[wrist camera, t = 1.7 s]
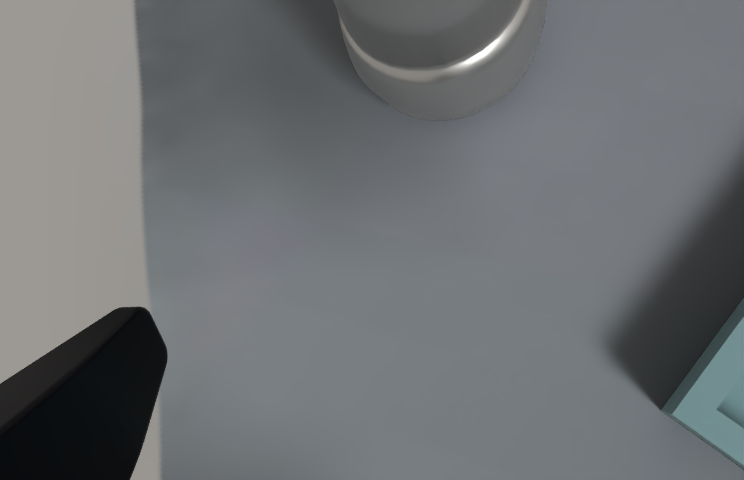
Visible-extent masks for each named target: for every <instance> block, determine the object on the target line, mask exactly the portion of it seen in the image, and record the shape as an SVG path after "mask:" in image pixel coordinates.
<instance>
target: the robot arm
mask: <svg viewBox="0 0 744 480" xmlns="http://www.w3.org/2000/svg"><path fill="white" fill-rule="evenodd" d="M166 364H167V349H166V345H165V343H164V341H163V339H162V337H161V335H160V333H159V331H158V328H157V326H156V324H155V322H154V320H153V318H152V316H151V314H150V312H149V311H148V310H147V309H145V308H143V307H121V308H118V309H115V310H113V311H112V312H110V313H109V314H107V315H106V316H104V317H103V318H101V319H99V320H98V321H97V322H95V323H93V324H92V325H90V326H89V327H87V328H86V329H84V330H83V331H81V332H79V333H78V334H76V335H75V336H73V337H72V338H70V339H69V340H67V341H66V342H64V343H63V344H61V345H59V346H58V347H56V348H55V349H53V350H52V351H50V352H49V353H47V354H46V355H44V356H42V357H41V358H39V359H38V360H36V361H35V362H33V363H32V364H30V365H29V366H27V367H26V368H24V369H22V370H21V371H19V372H18V373H16V374H15V375H13V376H12V377H10V378H9V379H7V380H5V381H4V382H2V383H1V384H0V480H130V478H131V476H132V473H133V471H134V468H135V466H136V463H137V460H138V457H139V455H140V452H141V449H142V446H143V443H144V439H145V436H146V433H147V430H148V426H149V423H150V419H151V416H152V412H153V409H154V405H155V402H156V399H157V395H158V392H159V388H160V385H161V382H162V378H163V375H164V371H165V368H166Z"/></svg>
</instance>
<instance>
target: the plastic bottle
mask: <svg viewBox="0 0 744 480" xmlns="http://www.w3.org/2000/svg"><path fill="white" fill-rule="evenodd" d="M333 1H334V3H335V6H336V8H337V10H338V16H339V22H340V26H341V30H342V34H343V38H344V42H345V45H346V48H347V51H348V54H349V56H350V59H351V62H352V64H353V66H354V68H355V70H356V72H357V74H358V76H359V77H360V78H361V80H362V81H363V82H364V83H365V84H366V86H367V87H368V88H369V89H370V90H371V91H372V92H374V93H375V94H376V95H378V96H379V97H380V98H381V99H383V100H384V101H385V102H387V103H388V104H389V105H391V106H392V107H393V108H395V109H396V110H398V111H400V112H402V113H404V114H407V115H409V116H411V117H415V118H419V119H424V120H433V121H447V120H453V119H459V118H464V117H467V116H469V115H472V114H475V113H478V112H480V111H482V110H484V109H486V108H487V107H489V106H491V105H493V104H494V103H496V102H498V101H499V100H500V99H501V98H502V97H504V96H505V95H506V94H507V93H508V92H509V91H511V90H512V89H513V87H514V86H515V85H516V84H517V83H518V81H519V80H520V79H521V78H522V77H523V76H524V74H525V72H526V70H527V69H528V67H529V65H530V63H531V62H532V60H533V57H534V54H535V51H536V48H537V45H538V42H539V39H540V36H541V33H542V29H543V26H544V23H545V15H546V7H547V0H333Z"/></svg>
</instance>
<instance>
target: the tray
mask: <svg viewBox="0 0 744 480" xmlns="http://www.w3.org/2000/svg"><path fill="white" fill-rule="evenodd" d="M661 411H662V412H663V413H665V414H666V415H668V416H669V417H670V418H672V419H673V420H675V421H676V422H677V423H679V424H680V425H682V426H683V427H685V428H686V429H687V430H689V431H690V432H692V433H693V434H694V435H696V436H697V437H699V438H700V439H701V440H703V441H704V442H706V443H707V444H708V445H710V446H711V447H713V448H714V449H715V450H717V451H718V452H720V453H721V454H722V455H724V456H725V457H727V458H728V459H729V460H731V461H732V462H734V463H735V464H736V465H738V466H739V467H741V468H742V469H744V298H743V299H742V300H741V302H740V303H739V305H738V306H737V307H736V309H735V310H734V311H733V313H732V314H731V315H730V317H729V318H728V320H727V321H726V322H725V324H724V325H723V326H722V328H721V329H720V330H719V332H718V333H717V335H716V336H715V337H714V339H713V340H712V341H711V343H710V344H709V345H708V347H707V348H706V349H705V351H704V352H703V354H702V355H701V356H700V358H699V359H698V360H697V362H696V363H695V364H694V366H693V367H692V369H691V370H690V371H689V373H688V374H687V375H686V377H685V378H684V379H683V381H682V382H681V384H680V385H679V386H678V388H677V389H676V390H675V392H674V393H673V394H672V396H671V397H670V399H669V400H668V401H667V403H666V404H665V405H664V407H663V408H662V409H661Z"/></svg>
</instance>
